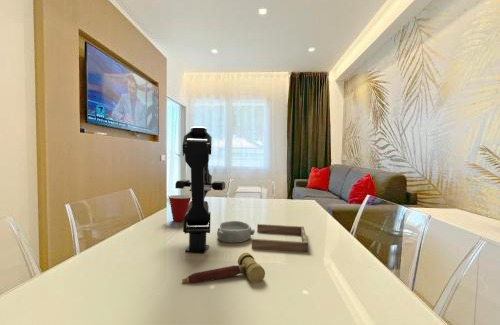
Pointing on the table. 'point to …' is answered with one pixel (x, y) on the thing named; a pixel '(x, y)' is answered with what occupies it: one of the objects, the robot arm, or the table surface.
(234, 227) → the dish
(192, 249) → the robot arm
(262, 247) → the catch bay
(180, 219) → the plastic cup
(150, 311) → the table surface
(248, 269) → the gavel
